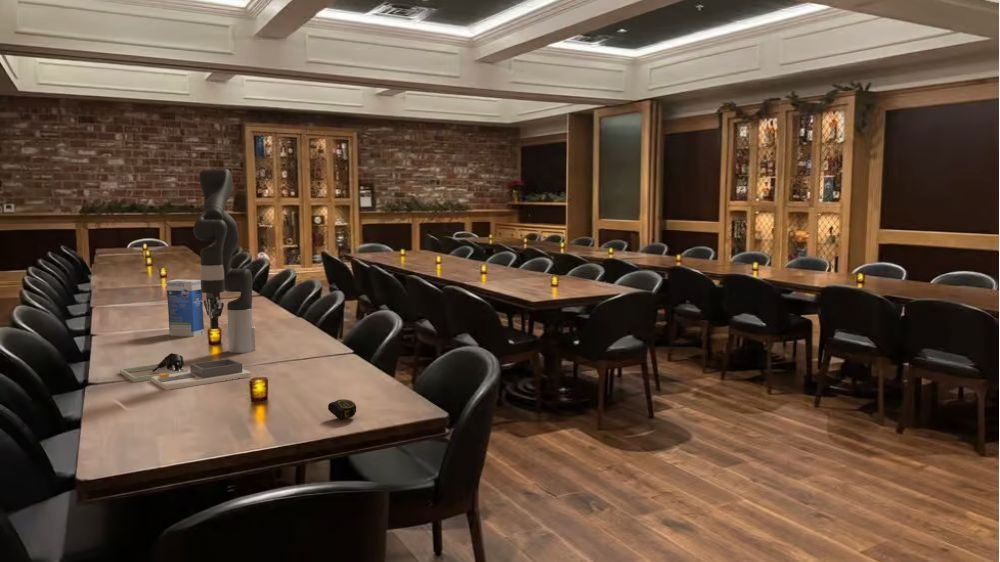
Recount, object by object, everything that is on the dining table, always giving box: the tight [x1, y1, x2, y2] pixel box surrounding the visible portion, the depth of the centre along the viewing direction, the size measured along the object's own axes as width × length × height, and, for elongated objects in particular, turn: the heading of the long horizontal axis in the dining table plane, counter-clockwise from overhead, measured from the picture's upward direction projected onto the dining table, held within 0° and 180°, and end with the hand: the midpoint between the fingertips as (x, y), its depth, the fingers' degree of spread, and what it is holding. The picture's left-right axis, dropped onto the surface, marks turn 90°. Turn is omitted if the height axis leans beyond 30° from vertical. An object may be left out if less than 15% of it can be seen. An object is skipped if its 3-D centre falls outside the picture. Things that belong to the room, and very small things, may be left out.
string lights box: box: [166, 279, 205, 338], centre depth 328 cm, size 13×8×26 cm, turn 74°
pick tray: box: [119, 363, 189, 383], centre depth 258 cm, size 18×18×2 cm
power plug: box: [152, 352, 185, 372], centre depth 258 cm, size 6×8×12 cm
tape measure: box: [327, 398, 357, 420], centre depth 204 cm, size 7×7×4 cm
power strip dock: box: [150, 358, 252, 391], centre depth 250 cm, size 28×16×4 cm, turn 131°
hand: (214, 328), depth 252 cm, fingers closed
